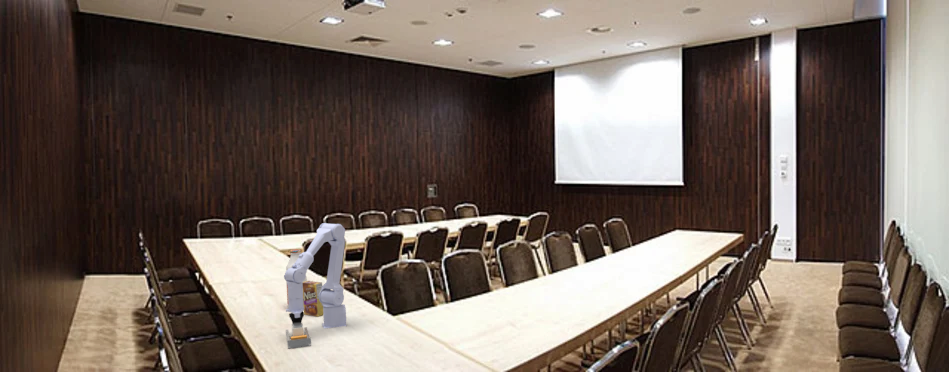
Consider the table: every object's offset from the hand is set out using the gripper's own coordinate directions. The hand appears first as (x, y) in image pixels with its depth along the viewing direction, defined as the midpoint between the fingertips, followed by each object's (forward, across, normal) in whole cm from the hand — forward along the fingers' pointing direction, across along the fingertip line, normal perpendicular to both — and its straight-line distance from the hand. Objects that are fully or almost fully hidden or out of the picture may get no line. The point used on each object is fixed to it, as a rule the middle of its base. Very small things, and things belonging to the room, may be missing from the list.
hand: (297, 330), depth 237 cm
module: (+2, +5, 0) cm, 6 cm away
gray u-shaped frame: (+3, +3, 0) cm, 4 cm away
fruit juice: (+3, -50, +3) cm, 50 cm away
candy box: (+3, -33, +9) cm, 34 cm away
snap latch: (+2, +10, 0) cm, 10 cm away
